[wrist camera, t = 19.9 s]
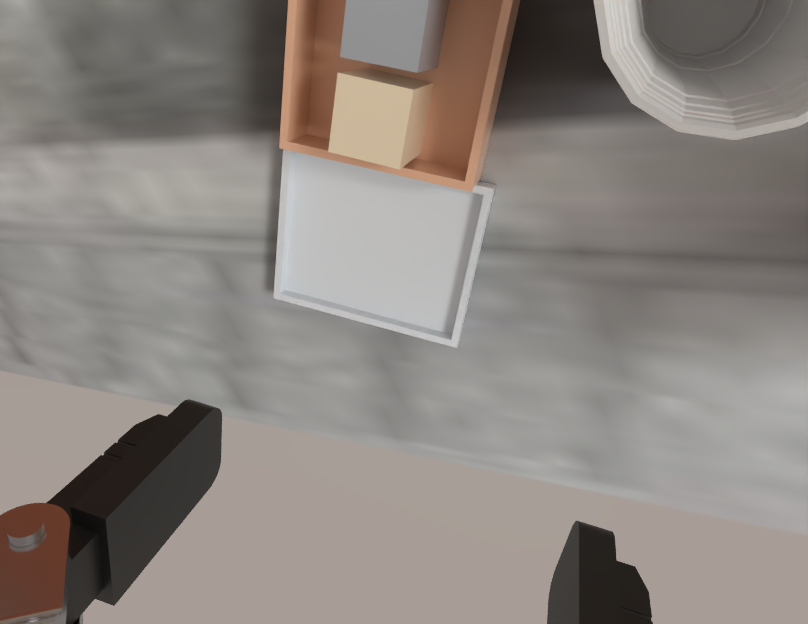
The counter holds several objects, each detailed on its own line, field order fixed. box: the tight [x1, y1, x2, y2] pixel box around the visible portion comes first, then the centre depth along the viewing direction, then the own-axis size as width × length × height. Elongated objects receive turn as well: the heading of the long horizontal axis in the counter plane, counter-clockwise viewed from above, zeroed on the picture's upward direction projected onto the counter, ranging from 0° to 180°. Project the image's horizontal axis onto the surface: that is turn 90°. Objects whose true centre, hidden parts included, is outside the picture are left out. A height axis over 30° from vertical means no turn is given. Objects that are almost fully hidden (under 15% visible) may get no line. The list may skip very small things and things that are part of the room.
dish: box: [279, 0, 520, 192], centre depth 34 cm, size 12×11×4 cm
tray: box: [273, 149, 496, 348], centre depth 41 cm, size 14×12×1 cm
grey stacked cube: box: [340, 0, 449, 73], centre depth 32 cm, size 4×4×5 cm
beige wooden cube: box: [328, 68, 434, 170], centre depth 34 cm, size 4×4×5 cm
